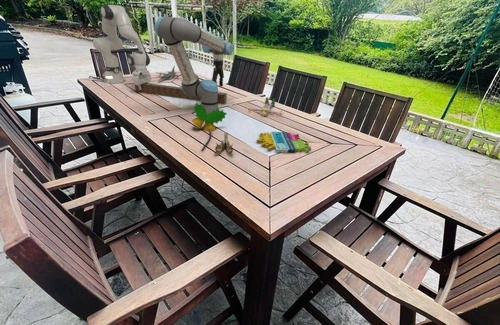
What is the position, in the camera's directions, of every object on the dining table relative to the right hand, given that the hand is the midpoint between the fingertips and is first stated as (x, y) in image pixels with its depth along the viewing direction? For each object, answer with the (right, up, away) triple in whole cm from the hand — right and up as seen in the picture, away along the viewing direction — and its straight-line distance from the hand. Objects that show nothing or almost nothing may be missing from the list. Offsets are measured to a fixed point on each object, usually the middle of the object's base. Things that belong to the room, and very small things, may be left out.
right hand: (218, 88), depth 209 cm
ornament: (0, -38, -45) cm, 59 cm away
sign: (+44, -48, -57) cm, 87 cm away
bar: (-34, -4, +12) cm, 36 cm away
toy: (+39, -20, -6) cm, 44 cm away
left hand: (-67, +4, +17) cm, 69 cm away
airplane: (-61, +30, +69) cm, 97 cm away
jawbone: (+12, -54, -71) cm, 90 cm away
